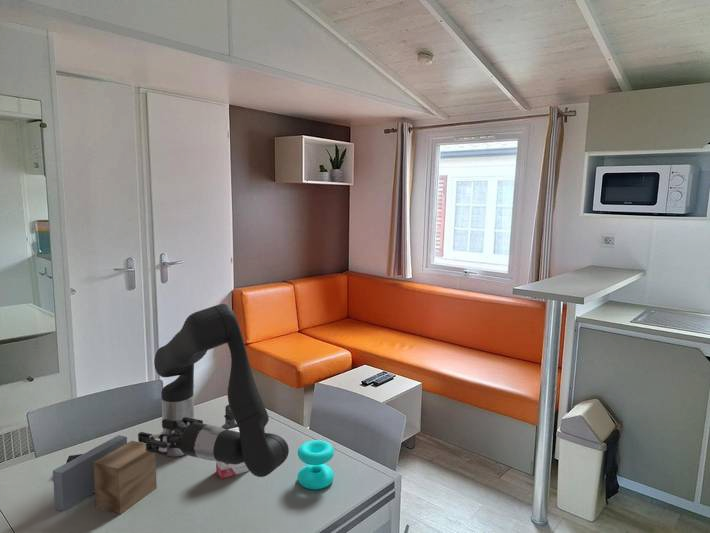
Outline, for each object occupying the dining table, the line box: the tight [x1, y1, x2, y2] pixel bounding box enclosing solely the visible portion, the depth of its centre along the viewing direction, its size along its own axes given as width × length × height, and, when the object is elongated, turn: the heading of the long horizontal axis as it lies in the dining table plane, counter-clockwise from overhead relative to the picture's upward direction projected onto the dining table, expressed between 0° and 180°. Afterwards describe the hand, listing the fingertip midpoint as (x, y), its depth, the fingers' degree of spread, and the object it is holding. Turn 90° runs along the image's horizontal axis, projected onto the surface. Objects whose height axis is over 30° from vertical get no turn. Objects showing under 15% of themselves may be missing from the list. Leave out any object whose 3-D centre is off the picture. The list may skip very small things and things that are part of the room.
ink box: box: [215, 427, 250, 480], centre depth 134 cm, size 8×5×12 cm, turn 123°
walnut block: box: [94, 440, 158, 516], centre depth 121 cm, size 8×12×12 cm, turn 160°
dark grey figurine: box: [220, 404, 238, 430], centre depth 155 cm, size 6×6×12 cm
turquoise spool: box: [297, 439, 335, 490], centre depth 130 cm, size 10×10×10 cm
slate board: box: [52, 434, 128, 512], centre depth 125 cm, size 3×20×10 cm, turn 160°
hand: (151, 429), depth 117 cm, fingers open, 7 cm apart
